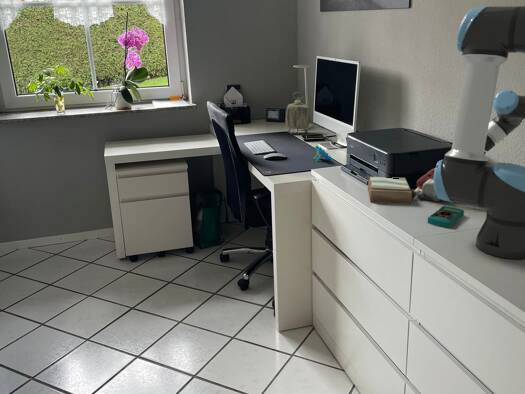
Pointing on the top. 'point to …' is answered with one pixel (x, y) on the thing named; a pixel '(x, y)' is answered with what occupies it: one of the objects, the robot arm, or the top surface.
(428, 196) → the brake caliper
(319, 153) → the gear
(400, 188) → the walnut stand
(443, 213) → the digital multimeter
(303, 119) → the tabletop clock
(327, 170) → the top surface
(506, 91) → the robot arm
